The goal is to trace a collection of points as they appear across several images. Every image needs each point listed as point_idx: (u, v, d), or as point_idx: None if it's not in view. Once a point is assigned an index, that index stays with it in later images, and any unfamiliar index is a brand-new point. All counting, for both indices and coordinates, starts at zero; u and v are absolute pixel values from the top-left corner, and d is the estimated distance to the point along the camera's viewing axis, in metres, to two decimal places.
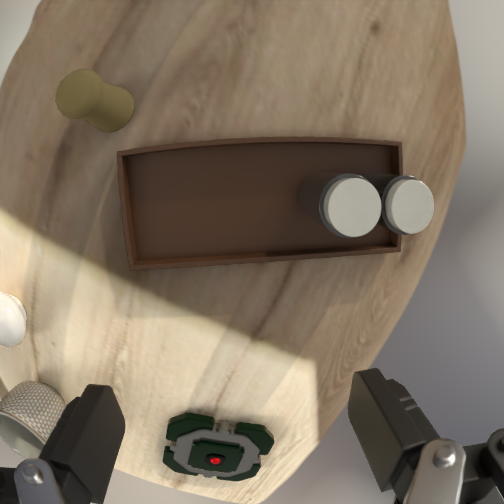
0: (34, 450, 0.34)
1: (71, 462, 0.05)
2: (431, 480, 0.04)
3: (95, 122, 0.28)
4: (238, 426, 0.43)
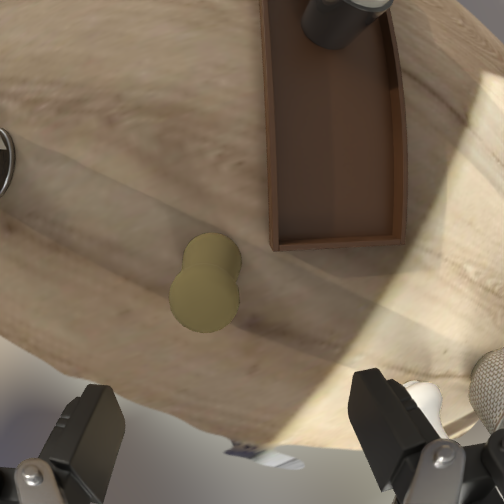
0: None
1: (71, 462, 0.05)
2: (431, 480, 0.04)
3: (236, 278, 0.27)
4: None
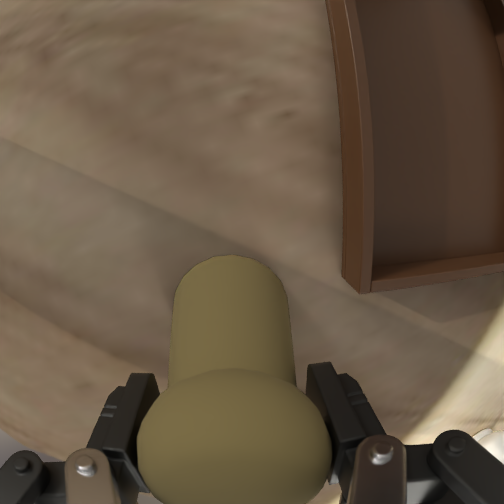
0: None
1: (126, 449, 0.06)
2: (363, 475, 0.05)
3: None
4: None
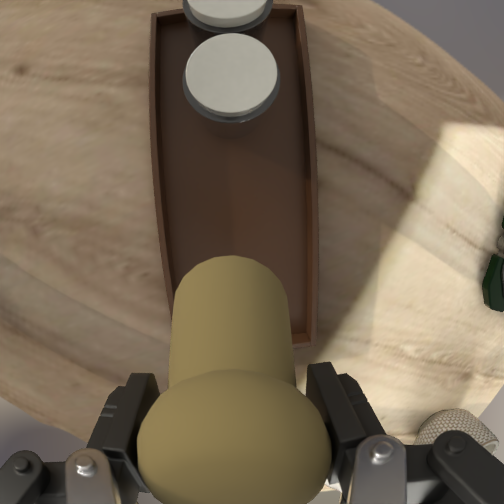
0: None
1: (126, 449, 0.06)
2: (363, 475, 0.05)
3: None
4: None
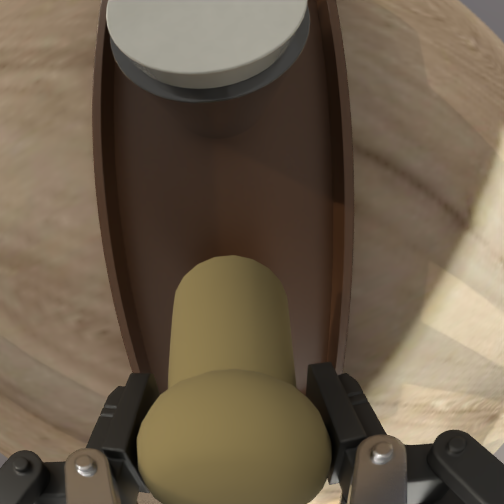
0: None
1: (126, 449, 0.06)
2: (363, 475, 0.05)
3: None
4: None
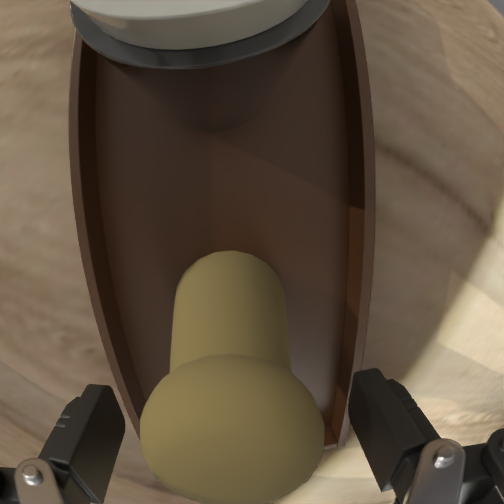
0: None
1: (71, 462, 0.05)
2: (431, 480, 0.04)
3: None
4: None
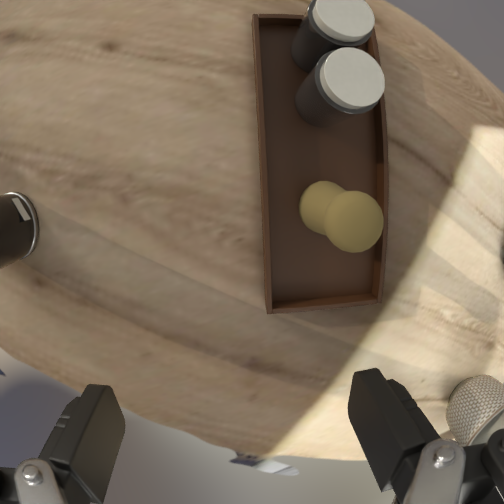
0: (502, 418, 0.35)
1: (71, 462, 0.05)
2: (431, 480, 0.04)
3: None
4: None
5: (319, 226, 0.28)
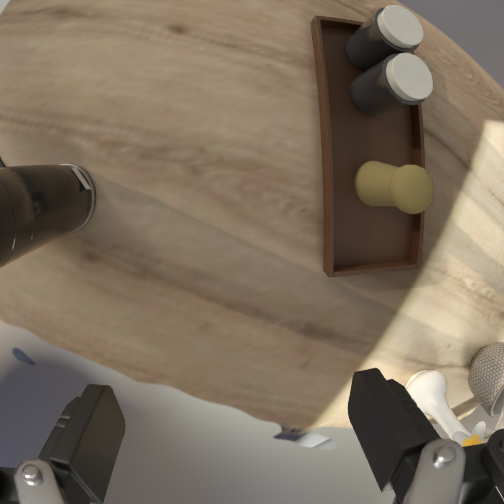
0: None
1: (71, 462, 0.05)
2: (431, 480, 0.04)
3: None
4: None
5: (379, 195, 0.32)
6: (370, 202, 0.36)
